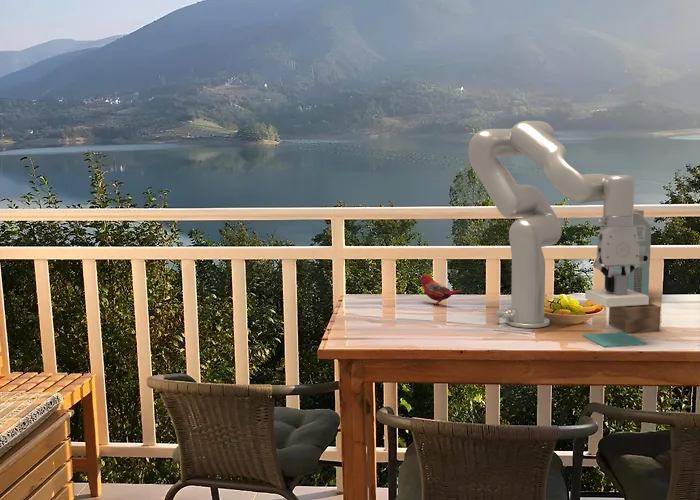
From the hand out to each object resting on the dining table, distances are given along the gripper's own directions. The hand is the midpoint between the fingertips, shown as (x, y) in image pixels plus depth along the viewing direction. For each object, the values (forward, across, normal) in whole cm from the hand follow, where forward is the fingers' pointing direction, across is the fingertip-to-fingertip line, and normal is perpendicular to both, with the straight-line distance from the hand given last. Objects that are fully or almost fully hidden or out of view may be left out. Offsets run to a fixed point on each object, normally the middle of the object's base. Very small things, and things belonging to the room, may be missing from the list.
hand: (616, 290), depth 208 cm
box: (+14, +12, +11) cm, 21 cm away
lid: (+3, 0, 0) cm, 3 cm away
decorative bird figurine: (+13, -33, +52) cm, 63 cm away
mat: (+14, 0, 0) cm, 14 cm away
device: (+14, +30, +48) cm, 58 cm away
